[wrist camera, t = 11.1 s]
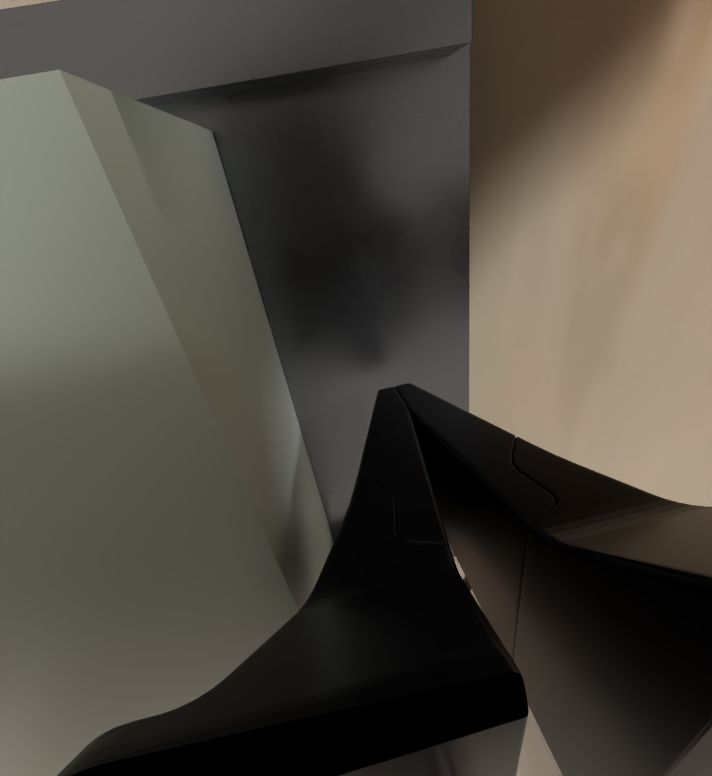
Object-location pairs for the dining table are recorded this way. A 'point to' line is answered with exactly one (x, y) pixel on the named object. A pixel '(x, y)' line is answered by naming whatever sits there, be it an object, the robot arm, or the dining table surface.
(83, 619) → the housing cover
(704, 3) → the dining table surface
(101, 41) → the housing base
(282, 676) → the robot arm
